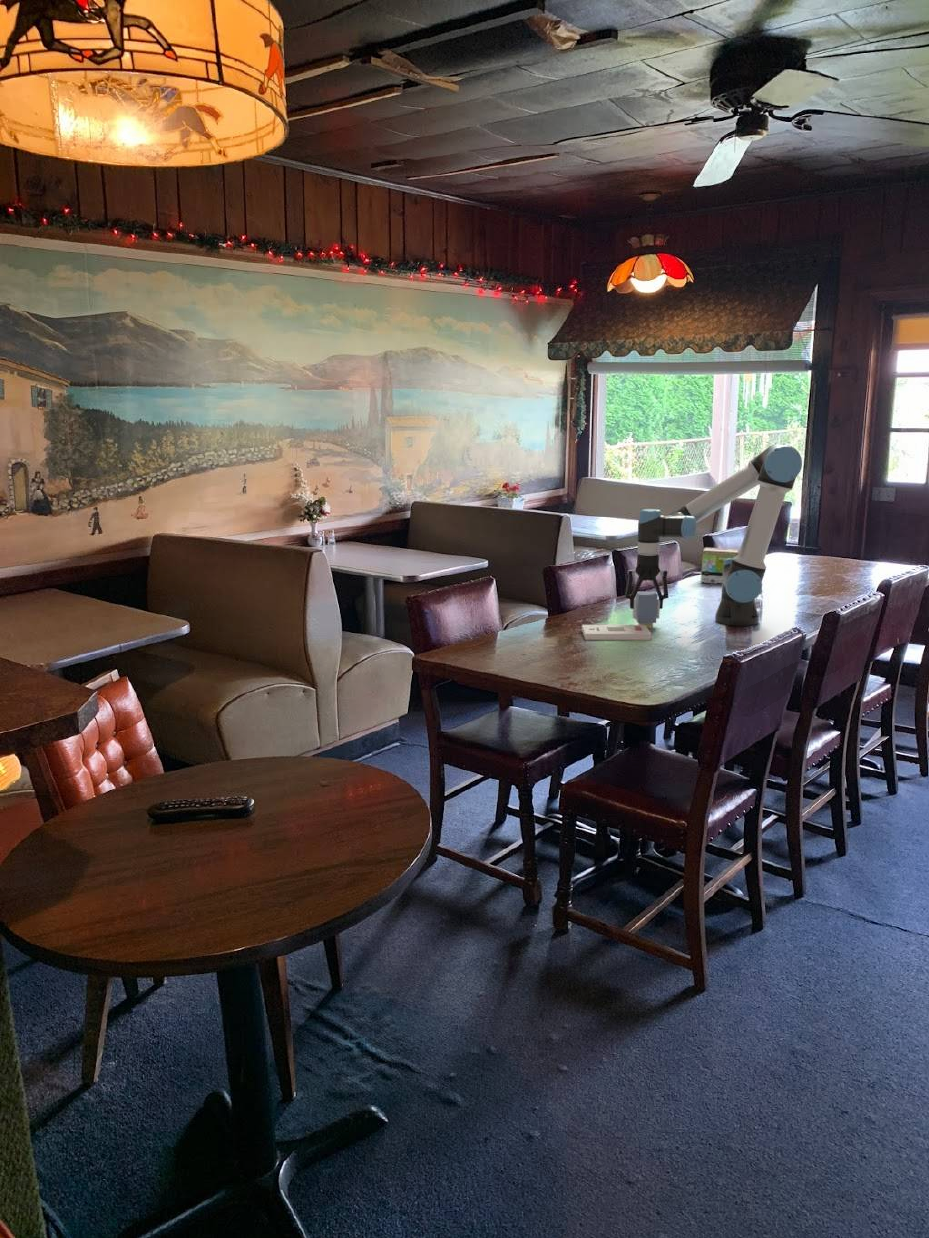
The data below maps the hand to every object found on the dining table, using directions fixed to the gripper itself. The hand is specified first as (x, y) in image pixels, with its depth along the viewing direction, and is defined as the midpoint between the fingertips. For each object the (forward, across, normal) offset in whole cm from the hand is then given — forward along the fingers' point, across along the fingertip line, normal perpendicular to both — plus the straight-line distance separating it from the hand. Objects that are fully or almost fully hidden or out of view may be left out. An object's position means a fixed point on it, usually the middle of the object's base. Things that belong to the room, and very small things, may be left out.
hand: (645, 617), depth 331 cm
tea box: (+3, -45, -85) cm, 96 cm away
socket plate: (+3, +12, +13) cm, 18 cm away
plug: (+3, 0, 0) cm, 3 cm away
